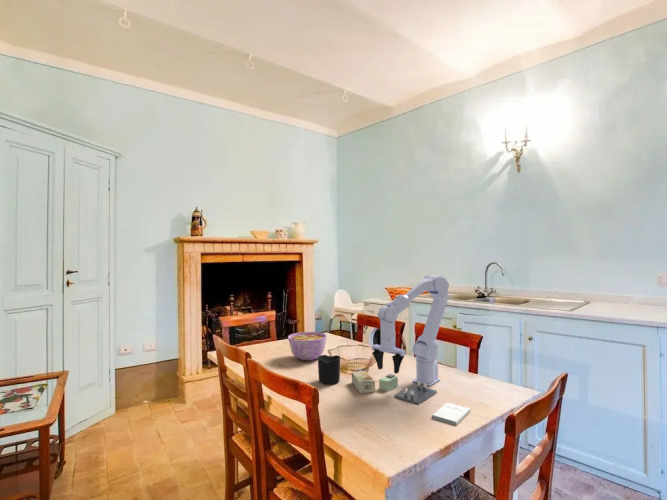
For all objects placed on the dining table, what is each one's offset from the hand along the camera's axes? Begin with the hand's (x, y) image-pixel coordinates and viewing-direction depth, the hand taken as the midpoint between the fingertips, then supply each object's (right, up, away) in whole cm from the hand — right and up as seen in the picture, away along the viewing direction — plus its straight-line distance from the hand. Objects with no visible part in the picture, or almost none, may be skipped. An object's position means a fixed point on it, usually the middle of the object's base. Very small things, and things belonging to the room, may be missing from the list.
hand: (388, 371), depth 143 cm
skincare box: (-9, -4, -5) cm, 11 cm away
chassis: (+9, -6, -8) cm, 14 cm away
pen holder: (-24, -7, +8) cm, 26 cm away
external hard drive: (+17, -7, -25) cm, 31 cm away
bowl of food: (-35, -8, +42) cm, 55 cm away
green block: (0, -7, 0) cm, 7 cm away
